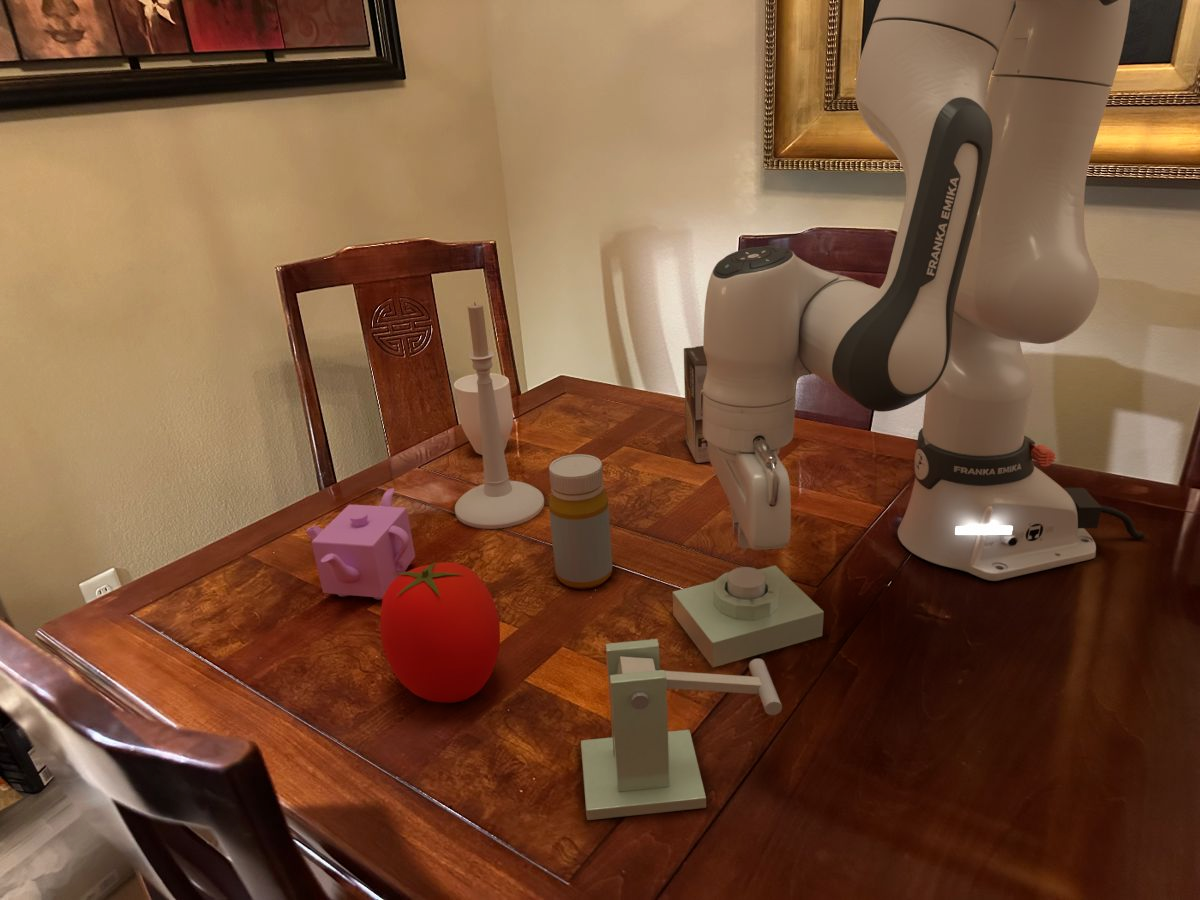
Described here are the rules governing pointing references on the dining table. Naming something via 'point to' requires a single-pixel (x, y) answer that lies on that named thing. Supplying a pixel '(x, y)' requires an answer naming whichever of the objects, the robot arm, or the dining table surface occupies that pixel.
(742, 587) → the white push button
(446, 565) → the tomato
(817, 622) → the push button base
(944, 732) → the dining table surface
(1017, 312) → the robot arm
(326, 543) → the teapot
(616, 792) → the lever bracket
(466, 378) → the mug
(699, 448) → the coffee box
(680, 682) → the flush lever
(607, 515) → the bottle
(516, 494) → the candlestick
